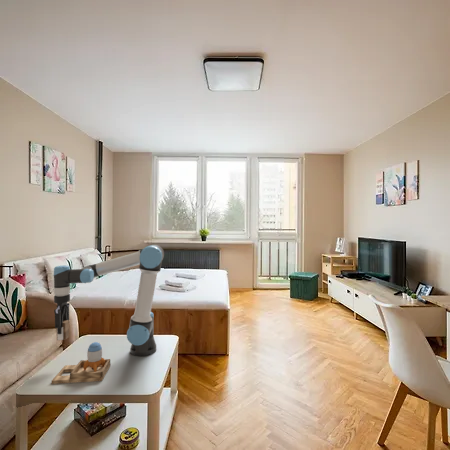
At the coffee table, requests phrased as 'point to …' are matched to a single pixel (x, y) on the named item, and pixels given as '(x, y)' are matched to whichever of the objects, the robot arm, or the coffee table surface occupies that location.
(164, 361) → the coffee table surface
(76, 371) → the tray
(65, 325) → the block
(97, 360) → the toy rocket
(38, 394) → the coffee table surface
